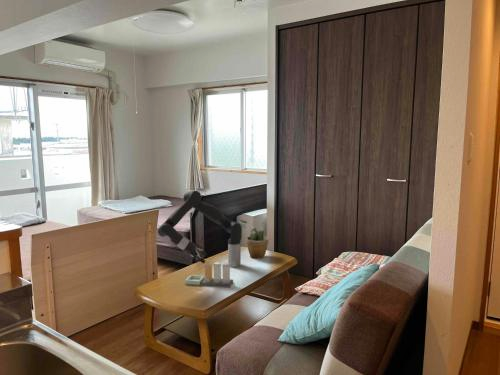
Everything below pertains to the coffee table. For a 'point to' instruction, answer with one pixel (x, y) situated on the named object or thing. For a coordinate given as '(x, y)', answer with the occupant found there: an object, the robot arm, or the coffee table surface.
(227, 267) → the end white fuse
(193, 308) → the coffee table surface
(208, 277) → the block
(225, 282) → the fuse block
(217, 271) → the block
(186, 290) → the coffee table surface
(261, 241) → the potted plant
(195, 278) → the tray
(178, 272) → the coffee table surface
